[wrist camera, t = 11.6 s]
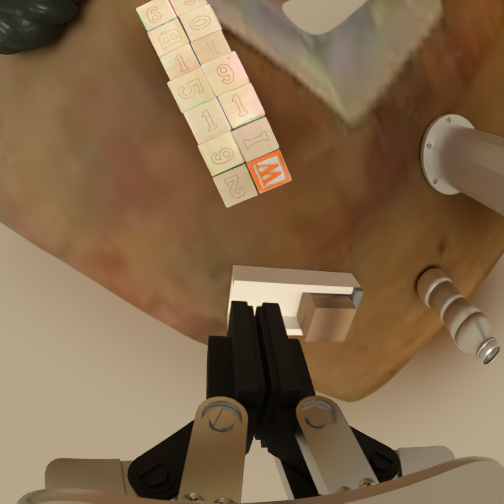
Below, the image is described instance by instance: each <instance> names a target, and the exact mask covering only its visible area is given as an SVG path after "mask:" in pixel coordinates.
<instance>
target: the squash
mask: <svg viewBox="0 0 504 504" xmlns="http://www.w3.org/2000/svg"><path fill="white" fill-rule="evenodd" d="M77 1H79V0H0V54H4V55H8V54H15V53H18V52H21V51H24V50H26V49H35V48H39V47H42V46H44V45H47V44H49V43H51V42H52V41H53V40H54V39H56V38H57V36H58V35H59V33H60V32H61V30H62V27H63V25H64V23H65V22H68V21H70V20H72V19H73V18H74V17H75V16H76V15H77V14H78V8H77V6H76V5H75V3H76V2H77Z"/></svg>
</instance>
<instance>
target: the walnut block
mask: <svg viewBox="0 0 504 504" xmlns="http://www.w3.org/2000/svg"><path fill="white" fill-rule="evenodd" d="M355 312H356V307H355V305H354V303H353V302H352V300H351V298H350V297H349V295H348V294H331V293H309V292H303V293H302V297H301V301H300V304H299V308H298V312H297V318H298V321H299V325H300V328H301V331H302V334H303V337H304V340H305V342H328V341H344V339H345V336H346V334H347V332H348V329H349V327H350V324H351V322H352V319H353V317H354V314H355Z"/></svg>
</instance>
